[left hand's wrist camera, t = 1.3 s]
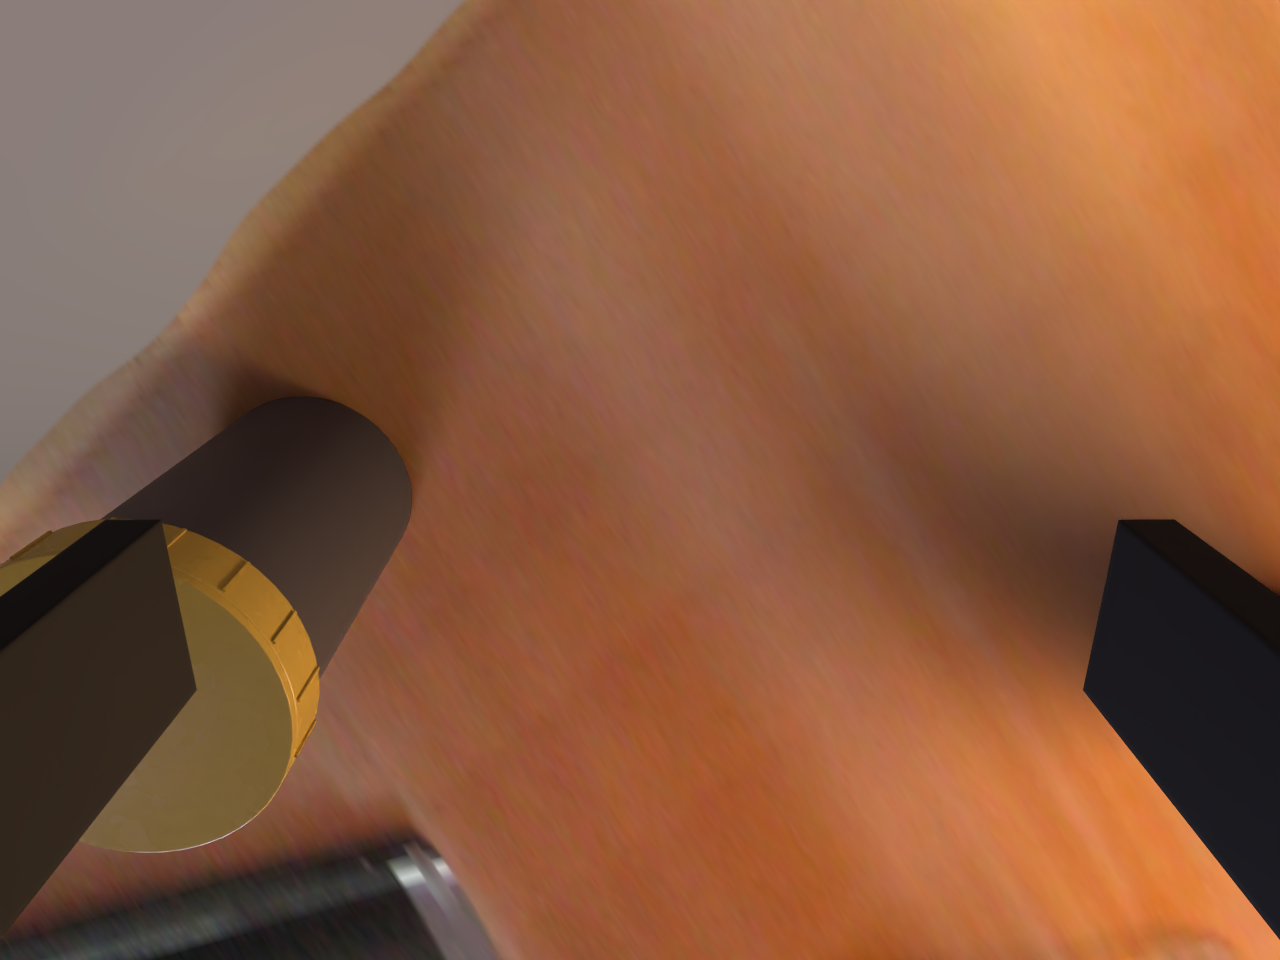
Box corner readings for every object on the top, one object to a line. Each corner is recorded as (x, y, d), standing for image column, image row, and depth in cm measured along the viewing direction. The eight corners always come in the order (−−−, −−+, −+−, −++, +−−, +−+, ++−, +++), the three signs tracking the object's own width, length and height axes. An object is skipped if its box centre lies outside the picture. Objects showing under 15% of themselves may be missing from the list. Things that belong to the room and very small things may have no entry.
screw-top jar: (214, 561, 44) (-25, 805, 28) (216, 380, 40) (-54, 541, 25) (403, 590, 44) (273, 846, 28) (420, 414, 41) (283, 593, 25)
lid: (-2, 775, 30) (-53, 828, 28) (-29, 491, 26) (-91, 525, 24) (312, 819, 31) (286, 873, 28) (328, 547, 27) (300, 585, 25)
